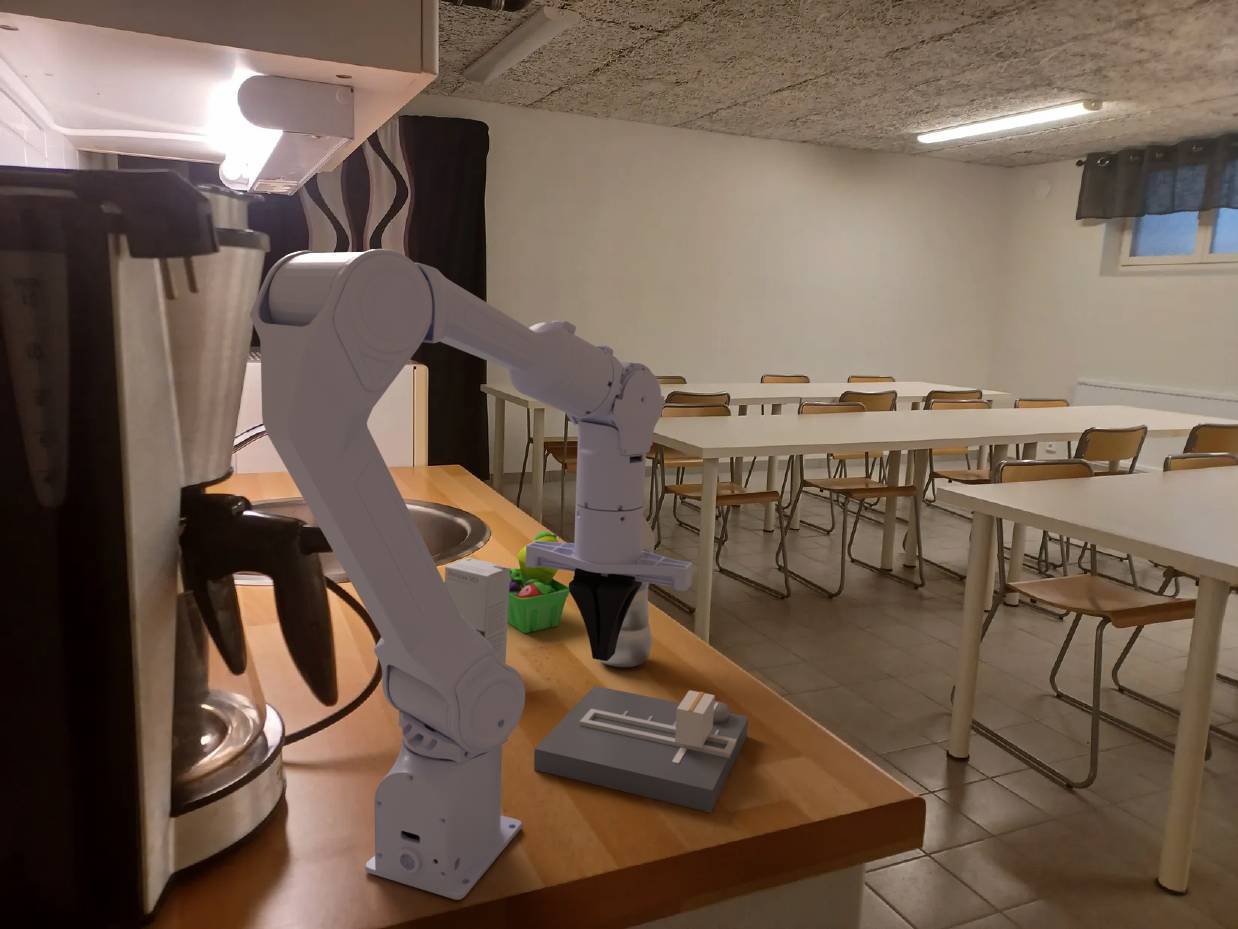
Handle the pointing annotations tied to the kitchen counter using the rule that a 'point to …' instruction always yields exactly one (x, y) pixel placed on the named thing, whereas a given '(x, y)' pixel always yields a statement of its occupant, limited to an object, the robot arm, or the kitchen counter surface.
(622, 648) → the plastic bottle
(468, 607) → the skincare box
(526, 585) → the fruit basket
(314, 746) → the kitchen counter surface
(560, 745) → the console
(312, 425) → the robot arm
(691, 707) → the fader cap
